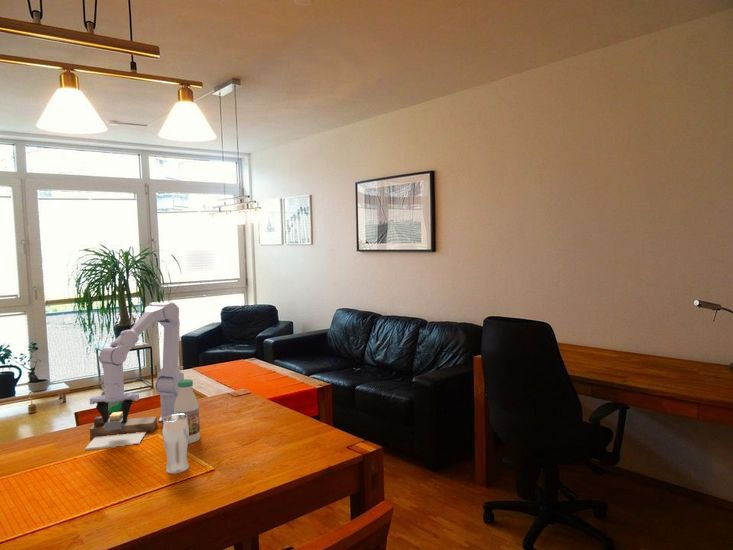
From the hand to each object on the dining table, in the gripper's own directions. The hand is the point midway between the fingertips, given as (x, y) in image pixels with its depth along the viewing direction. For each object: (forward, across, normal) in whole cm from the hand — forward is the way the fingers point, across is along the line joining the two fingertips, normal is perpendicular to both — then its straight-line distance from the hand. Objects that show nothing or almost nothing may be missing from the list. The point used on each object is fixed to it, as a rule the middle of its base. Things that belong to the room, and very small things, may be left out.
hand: (115, 423), depth 161 cm
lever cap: (+1, 0, 0) cm, 1 cm away
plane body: (+6, 0, +10) cm, 12 cm away
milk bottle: (+6, +23, -6) cm, 25 cm away
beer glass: (+6, +23, -28) cm, 37 cm away
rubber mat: (+6, 0, 0) cm, 6 cm away
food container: (+6, -8, +25) cm, 27 cm away
